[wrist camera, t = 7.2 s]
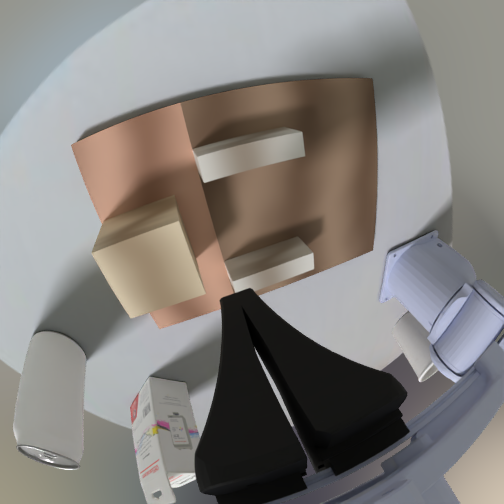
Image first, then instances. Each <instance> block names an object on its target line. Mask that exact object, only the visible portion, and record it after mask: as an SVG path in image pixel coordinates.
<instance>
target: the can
mask: <svg viewBox="0 0 504 504" xmlns="http://www.w3.org/2000/svg"><path fill="white" fill-rule="evenodd" d="M85 372H86V356H85V353H84V352H83V350H82V349H81V347H80V346H79V345H78V344H77V343H76V342H75V341H74V340H73V339H71V338H70V337H68V336H66V335H64V334H62V333H59V332H55V331H42V332H39V333H36V334H35V335H34V336H33V337H32V338H31V341H30V344H29V347H28V351H27V354H26V358H25V362H24V366H23V370H22V375H21V380H20V384H19V390H18V395H17V401H16V408H15V415H14V425H13V429H14V430H13V431H14V435H15V437H16V440H17V447H16V448H17V450H18V451H19V452H20V453H22V454H23V455H25V456H27V457H28V458H30V459H33V460H35V461H37V462H40V463H42V464H45V465H49V466H52V467H56V468H61V469H70V470H71V469H72V470H74V469H79V468H80V465H79V461H80V459H81V457H82V455H83V451H84V450H83V449H84V443H83V408H84V386H85Z"/></svg>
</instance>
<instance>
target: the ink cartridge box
mask: <svg viewBox="0 0 504 504" xmlns="http://www.w3.org/2000/svg"><path fill="white" fill-rule="evenodd" d="M130 410H131V421H132V430H133V439H134V446H135V453H136V460H137V466H138V471H139V477H140V482H141V486H142V488H143V492H144V495H145V498H146V501H147V504H170V503H175V502H176V498H175V495H174V493H173V490H172V487H180V486H182V485H184V484H187V483H189V482H191V481H193V480H195V479H196V475H195V465H194V459H195V451H196V449H197V446H198V444H199V441H200V437H199V433H198V429H197V426H196V422H195V418H194V415H193V410H192V406H191V403H190V399H189V394H188V390H187V385H186V382H179V381H172V380H166V379H161V378H155V377H149V378H148V379H147V381H146V382H145V384H144V385H143V387H142V389H141V390H140V392H139V394H138V395H137V397H136V399H135V400H134V402H133V403H132V405H131V407H130ZM159 490H161V492H162V496H160V497H159V499H158V498H155V497H154V496H153V493H154V492H156V491H159Z"/></svg>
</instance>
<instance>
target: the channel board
mask: <svg viewBox="0 0 504 504" xmlns="http://www.w3.org/2000/svg"><path fill="white" fill-rule="evenodd" d="M71 146H72V149H73V152H74V155H75V158H76V161H77V164H78V167H79V169H80V172H81V175H82V177H83V180H84V182H85V185H86V188H87V190H88V192H89V195H90V197H91V200H92V202H93V204H94V207H95V209H96V211H97V214H98V216H99V218H100V220H101V223H102V224H103V221H105V220H108V219H110V218H113V217H115V216H118V215H120V214H123V213H125V212H128V211H131V210H133V209H136V208H139V207H141V206H144V205H147V204H150V203H152V202H155V201H158V200H161V199H164V198H167V197H170V196H173V195H175V198H176V201H177V204H178V207H179V210H180V213H181V216H182V219H183V222H184V225H185V228H186V231H187V234H188V237H189V239H190V242H191V245H192V248H193V251H194V254H195V256H196V259H197V263H198V267H199V271H200V274H201V278H202V282H203V285H204V289H205V292H206V294H204V295H201V296H198V297H195V298H192V299H189V300H186V301H183V302H180V303H177V304H174V305H171V306H168V307H165V308H162V309H159V310H156V311H153V312H150V314H151V316H152V318H153V319H154V321H155V322H156V324H157V325H158V327H159V329H161V328H164V327H168V326H171V325H174V324H177V323H180V322H183V321H186V320H189V319H192V318H195V317H198V316H201V315H204V314H207V313H210V312H213V311H216V310H219V309H221V305H220V301H219V300H220V299H221V298H222V297H225V296H228V295H231V294H233V293H236V292H239V291H242V290H245V289H248V288H251V289H253V290H254V292H255V293H256V294H257V295H258V296H259V295H261V294H264V293H267V292H269V291H272V290H275V289H277V288H280V287H283V286H285V285H288V284H291V283H293V282H296V281H299V280H301V279H304V278H306V277H309V276H311V275H314V274H316V273H319V272H322V271H324V270H327V269H329V268H331V267H334V266H336V265H339V264H341V263H344V262H346V261H349V260H351V259H353V258H356V257H358V256H361V255H363V254H365V253H368V252H370V251H372V250H373V245H374V233H375V220H376V202H377V129H376V112H375V99H374V88H373V79H372V78H332V79H313V80H300V81H289V82H281V83H273V84H265V85H259V86H252V87H246V88H241V89H236V90H230V91H225V92H221V93H216V94H212V95H208V96H203V97H199V98H195V99H192V100H188V101H184V102H181V103H177V104H174V105H170V106H167V107H164V108H161V109H158V110H155V111H151V112H149V113H146V114H143V115H140V116H137V117H134V118H132V119H129V120H126V121H124V122H121V123H119V124H116V125H114V126H111V127H109V128H107V129H104V130H102V131H100V132H97V133H95V134H93V135H91V136H88V137H86V138H84V139H82V140H80V141H78V142H76V143H74V144H72V145H71Z"/></svg>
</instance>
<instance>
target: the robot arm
mask: <svg viewBox="0 0 504 504" xmlns="http://www.w3.org/2000/svg"><path fill="white" fill-rule="evenodd" d="M393 297H396V298H397V300H398V301H399V302H400V303H401V304H402V305H403V306H404V307H405V308H406V309H407V310H408V311H409V312H410V313H411V314H412V315H413V316H414V317H415V318H416V319H417V320H418V321H419V322H420V323H421V325H422V326H423V327H424V328H425V329H426V330H427V331H428V332H429V333H430V334H429V336H428V337H427V339H428V340H429V341H430V342H431V344H430V346H429V351H430V357H431V359H432V361H433V363H434V365H435V366H436V367H437V369H438V370H439V371H440V372H441V373H442V374H443V375H445V376H446V377H447V378H449V379H451V380H453V381H454V382H455V384H454V385H453V386H452V387H451V388H450V389H449V390H448V391H446V392H445V393H444V394H443V395H442V396H441V397H439V398H438V399H437V400H436V401H435V402H433V403H432V404H431V405H430V406H428V407H427V408H426V409H425V410H423V411H422V412H421V413H419V414H418V415H417V416H415V417H414V418H413V419H411V420H410V421H408V422H407V423H406V424H405V423H404V422H403V420H402V419H401V417H402V416H403V415H402V413H401V411H400V410H399V409H398V408H399V407H400V406H401V404H402V403H403V402H404V400H405V399H406V397H407V391H406V390H405V389H404V387H403V386H402V385H401V384H400V383H399V382H398V381H397V380H396V379H395V378H394V377H393V376H392V375H391V374H389V373H386V372H383V371H379V370H376V369H373V368H370V367H367V366H364V365H362V364H359V363H357V362H354V361H352V360H349V359H347V358H345V357H343V356H341V355H339V354H337V353H334V352H332V351H330V350H328V349H327V348H325V347H323V346H321V345H319V344H318V343H316V342H314V341H313V340H311V339H310V338H308V337H306V336H305V335H303V334H302V333H301V332H299V331H298V330H296V329H295V328H294V327H292V326H291V325H290V324H288V323H287V322H286V321H285V320H283V319H282V318H281V317H280V316H279V315H278V314H276V313H275V312H274V311H273V310H272V309H271V308H270V307H269V306H268V305H267V304H266V303H264V302H263V300H262V299H261V298H260V297H259V296H258V295H257V294H256V293H255V292H254V290H253V289H251V288H248V289H245V290H242V291H239V292H236V293H233V294H231V295H228V296H225V297H222V298H221V299H220V300H219V301H220V305H221V313H222V344H221V356H220V365H219V372H218V378H217V383H216V388H215V392H214V397H213V401H212V405H211V408H210V412H209V415H208V418H207V422H206V425H205V428H204V431H203V433H202V436H201V438H200V441H199V444H198V446H197V449H196V451H195V459H194V465H195V475H196V480H197V483H198V486H199V490H200V492H202V493H204V494H208V495H215V496H216V499H217V502H218V504H280V503H283V502H286V501H288V500H291V499H294V498H297V497H300V496H302V495H305V494H307V493H310V492H312V491H315V490H317V489H319V488H322V487H324V486H327V485H329V484H331V483H333V482H335V481H337V480H340V479H342V478H344V477H346V476H348V475H350V474H352V473H353V472H355V471H357V470H359V469H361V468H363V467H364V466H366V465H368V464H370V463H372V462H373V461H375V460H376V459H378V458H380V457H382V456H383V455H385V454H386V453H388V452H390V451H391V450H393V449H394V448H396V447H397V446H399V445H400V444H402V443H403V442H405V441H406V440H407V439H409V438H410V437H412V438H411V443H410V444H409V445H408V446H407V447H405V448H404V449H402V450H401V451H399V452H398V453H396V454H395V455H393V456H392V457H390V458H389V459H387V460H385V461H384V462H382V463H381V467H382V468H383V470H384V472H383V473H381V474H379V475H378V476H376V477H374V478H372V479H370V480H369V481H367V482H365V483H363V484H361V485H359V486H357V487H355V488H353V489H351V490H349V491H347V492H345V493H343V494H341V495H339V496H337V497H334V498H332V499H330V500H328V501H325V502H323V503H321V504H460V502H459V501H458V499H457V497H456V496H455V494H454V492H453V491H452V489H451V488H450V486H449V484H448V483H447V481H446V480H445V478H444V476H443V475H444V474H445V473H446V472H447V471H448V470H449V469H450V468H451V467H452V466H453V465H454V464H455V463H456V462H457V461H458V460H459V459H460V458H461V457H462V455H463V454H464V453H465V452H466V451H467V450H468V449H469V448H470V446H471V445H472V444H473V443H474V442H475V440H476V439H477V438H478V437H479V435H480V434H481V433H482V431H483V430H484V429H485V428H486V426H487V425H488V424H489V422H490V421H491V420H492V418H493V417H494V415H495V414H496V413H497V411H498V410H499V408H500V407H501V405H502V404H503V402H504V334H503V335H502V337H501V338H500V339H499V341H498V342H496V341H495V340H496V338H497V337H498V335H499V334H500V333H501V331H502V330H503V329H504V297H503V296H502V295H501V294H499V292H497V291H496V290H495V289H494V288H493V287H491V286H490V285H489V284H488V283H486V282H485V281H484V280H482V279H481V280H476V274H475V271H474V268H473V267H472V265H471V263H470V262H469V261H468V260H467V259H466V258H465V257H463V256H462V255H461V254H459V253H458V252H457V251H455V250H454V249H453V248H451V247H450V246H449V245H447V244H446V243H445V242H443V241H442V240H440V239H439V238H438V231H437V230H434V231H432V232H430V233H428V234H426V235H424V236H422V237H420V238H418V239H416V240H414V241H412V242H410V243H408V244H405V245H403V246H401V247H399V248H397V249H395V250H393V251H390V252H389V253H388V255H387V260H386V266H385V272H384V278H383V283H382V289H381V294H380V299H379V301H380V303H384V302H386V301H387V300H389V299H391V298H393ZM254 347H255V348H256V350H257V352H258V354H259V356H260V358H261V360H262V361H263V363H264V365H265V367H266V369H267V370H268V372H269V374H270V376H271V377H272V379H273V381H274V383H275V385H276V387H277V389H278V391H279V392H280V395H281V397H282V399H283V401H284V404H285V406H286V408H287V410H288V413H289V415H290V417H291V419H292V421H293V424H294V426H295V428H296V430H297V432H298V435H299V437H300V439H301V441H302V444H303V446H304V448H305V450H306V452H307V455H308V457H309V459H310V461H311V464H312V466H313V468H314V470H315V472H316V474H314V475H311V476H309V477H306V478H304V479H303V478H302V476H305V475H307V474H306V468H307V456H306V454H305V453H304V450H303V448H302V446H301V444H300V442H299V440H298V438H297V436H296V435H295V433H294V431H293V429H292V427H291V425H290V423H289V421H288V419H287V417H286V415H285V413H284V411H283V410H282V408H281V405H280V403H279V401H278V399H277V397H276V395H275V393H274V391H273V389H272V387H271V385H270V383H269V381H268V379H267V376H266V374H265V372H264V370H263V368H262V366H261V363H260V361H259V359H258V357H257V354H256V352H255V348H254Z"/></svg>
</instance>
